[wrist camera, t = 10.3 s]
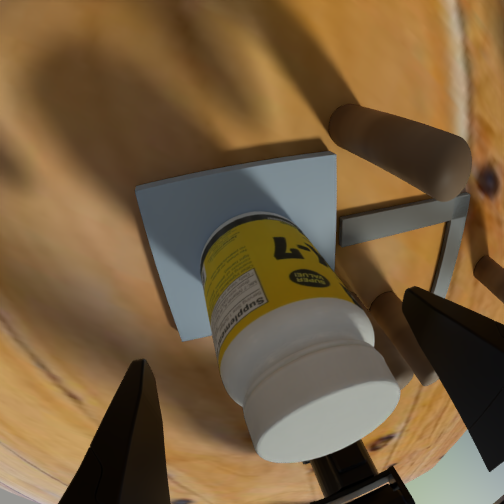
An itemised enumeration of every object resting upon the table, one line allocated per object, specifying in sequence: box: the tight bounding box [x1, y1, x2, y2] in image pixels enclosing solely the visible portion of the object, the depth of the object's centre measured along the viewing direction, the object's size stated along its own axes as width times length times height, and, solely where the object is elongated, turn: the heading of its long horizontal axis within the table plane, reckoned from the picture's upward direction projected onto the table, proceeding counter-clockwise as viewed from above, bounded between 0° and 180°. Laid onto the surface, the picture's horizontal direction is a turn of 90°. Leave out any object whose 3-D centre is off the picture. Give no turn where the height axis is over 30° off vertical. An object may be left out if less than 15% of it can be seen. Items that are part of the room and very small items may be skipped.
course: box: [329, 104, 504, 390], centre depth 14 cm, size 14×15×6 cm
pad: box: [135, 151, 337, 342], centre depth 14 cm, size 8×8×1 cm
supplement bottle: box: [200, 211, 400, 463], centre depth 11 cm, size 5×5×8 cm
